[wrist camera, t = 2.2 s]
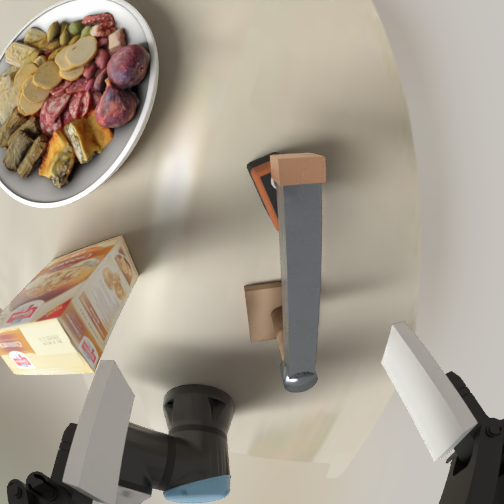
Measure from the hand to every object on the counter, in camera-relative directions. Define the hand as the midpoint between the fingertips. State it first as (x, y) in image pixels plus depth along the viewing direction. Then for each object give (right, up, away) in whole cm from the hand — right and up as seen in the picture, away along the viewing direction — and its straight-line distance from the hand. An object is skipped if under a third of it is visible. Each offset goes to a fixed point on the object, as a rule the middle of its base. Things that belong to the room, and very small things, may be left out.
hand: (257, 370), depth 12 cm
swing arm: (+4, +2, +16) cm, 17 cm away
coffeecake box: (-25, +3, +26) cm, 36 cm away
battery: (+2, +15, +24) cm, 28 cm away
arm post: (+4, -4, +32) cm, 32 cm away
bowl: (-26, +27, +15) cm, 40 cm away
